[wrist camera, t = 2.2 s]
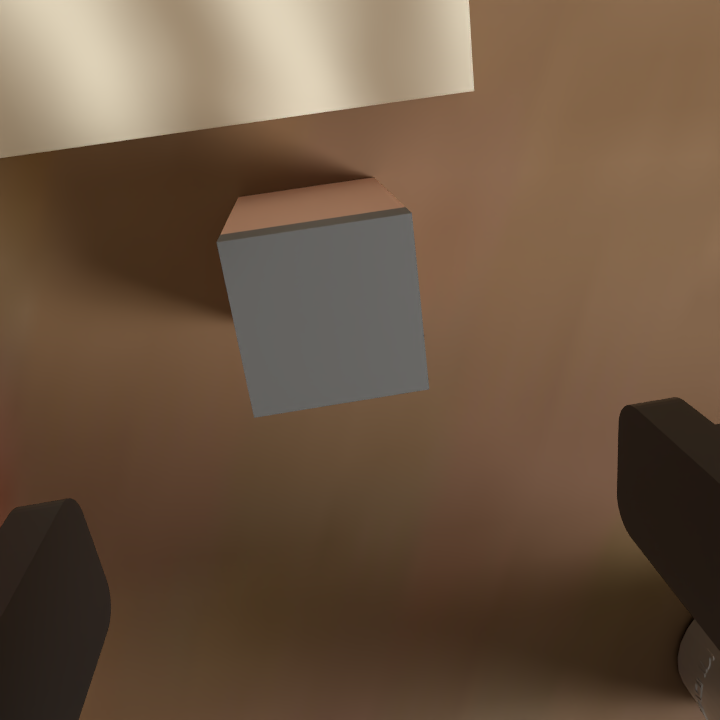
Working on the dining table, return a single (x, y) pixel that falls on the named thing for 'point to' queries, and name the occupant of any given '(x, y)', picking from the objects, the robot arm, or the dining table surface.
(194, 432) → the dining table surface
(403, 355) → the block
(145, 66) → the board
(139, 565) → the dining table surface
